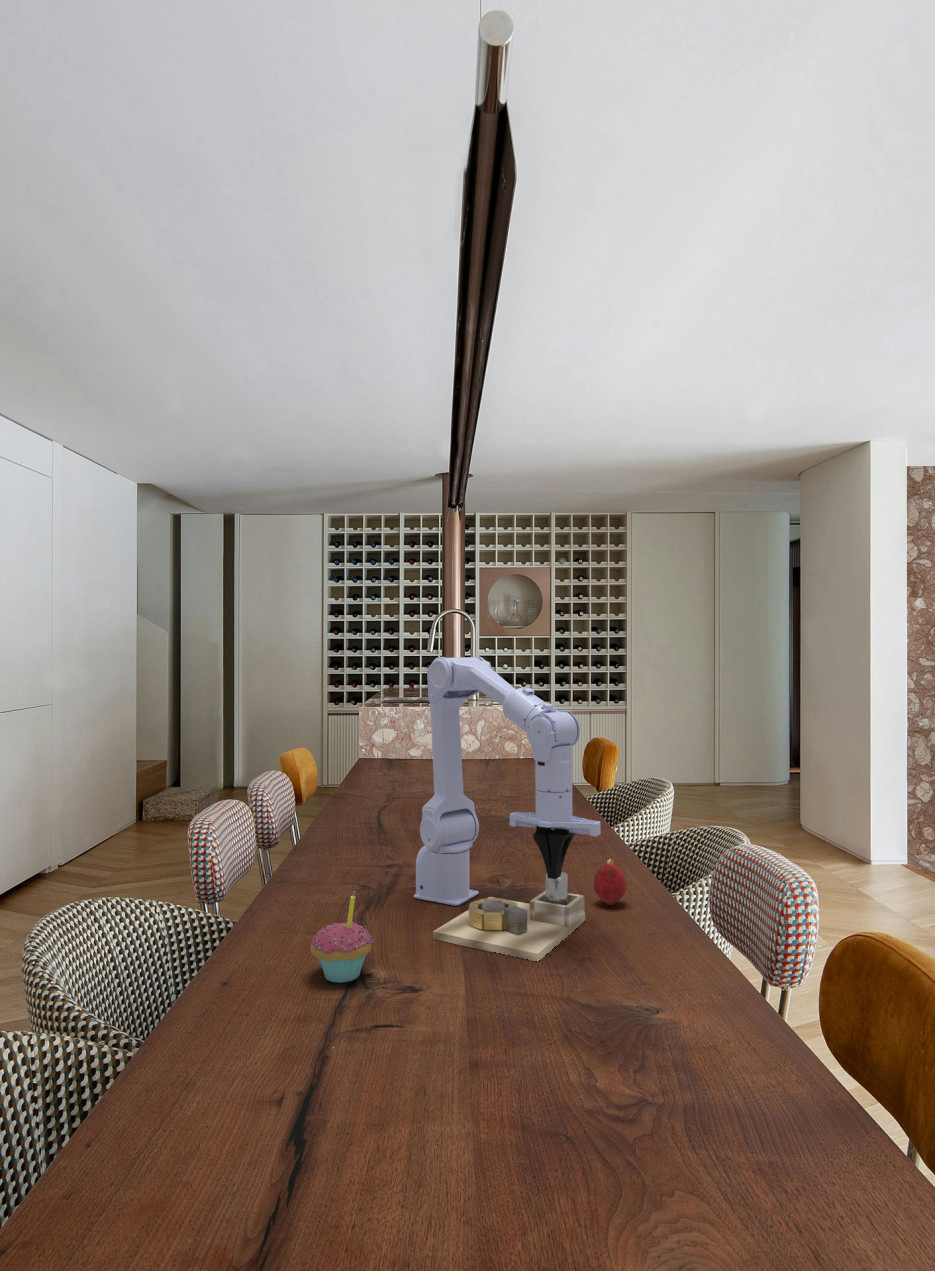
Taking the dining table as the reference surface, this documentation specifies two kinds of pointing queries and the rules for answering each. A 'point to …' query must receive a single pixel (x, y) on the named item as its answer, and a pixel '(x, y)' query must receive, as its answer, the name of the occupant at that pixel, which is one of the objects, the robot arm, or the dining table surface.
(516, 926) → the ring nut
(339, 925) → the cupcake
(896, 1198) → the dining table surface
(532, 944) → the board
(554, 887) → the pin
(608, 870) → the onion
